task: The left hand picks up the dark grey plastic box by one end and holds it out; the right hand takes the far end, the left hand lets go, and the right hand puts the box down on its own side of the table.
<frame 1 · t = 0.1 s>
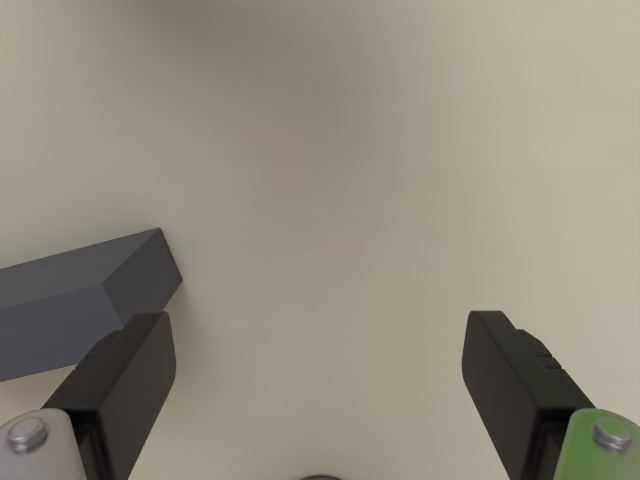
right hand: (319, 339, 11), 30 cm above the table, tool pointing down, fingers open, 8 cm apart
box: (57, 283, 44), on the table
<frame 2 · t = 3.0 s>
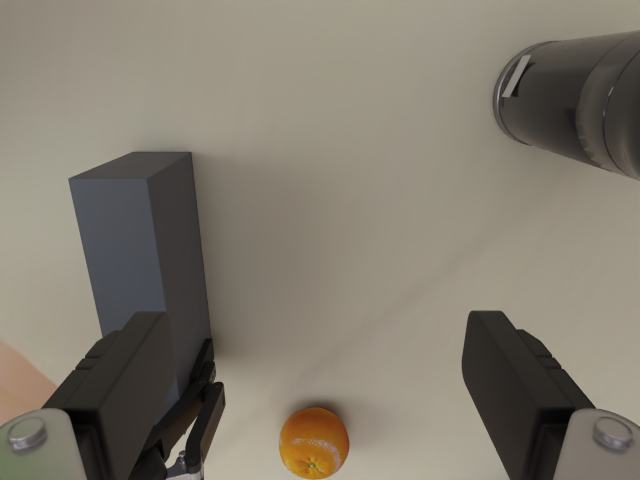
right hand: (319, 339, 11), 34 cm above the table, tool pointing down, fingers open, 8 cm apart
left hand: (180, 348, 49), fingers closed on box, 6 cm apart
fruit: (314, 420, 56), on the table
box: (176, 264, 48), on the table, touching left hand
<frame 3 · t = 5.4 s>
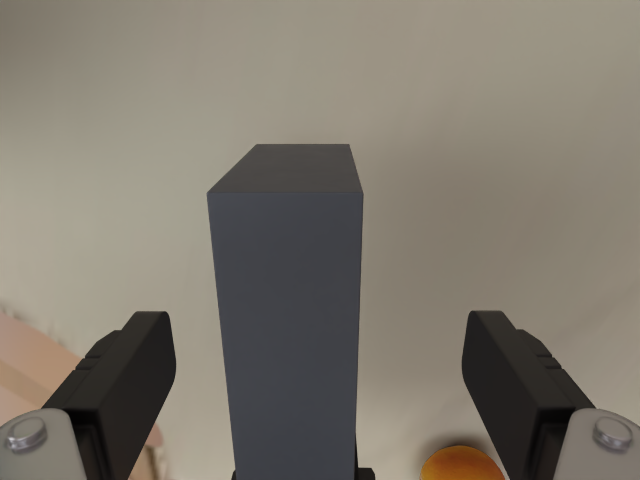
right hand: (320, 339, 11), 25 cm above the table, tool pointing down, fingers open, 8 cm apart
fruit: (453, 460, 47), on the table
box: (306, 315, 32), point 7 cm above the table, touching left hand
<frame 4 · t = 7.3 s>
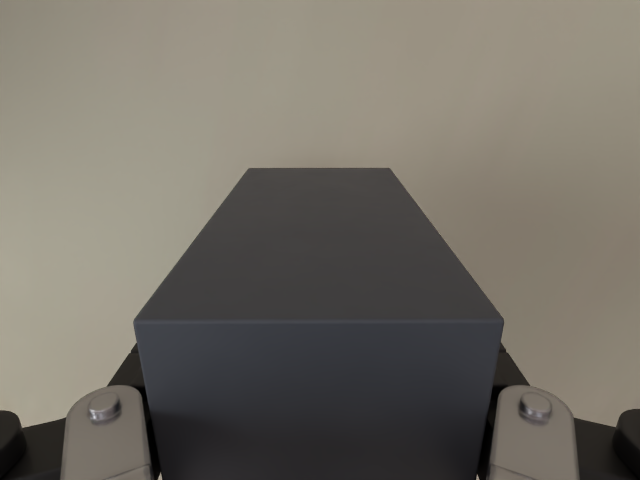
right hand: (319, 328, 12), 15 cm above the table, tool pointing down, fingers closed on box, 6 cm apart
box: (319, 405, 22), point 7 cm above the table, touching right hand, left hand
when the left hand's fingers open (10 cm above the table, at t = 8.2 s): box stays where it is, held by the right hand.
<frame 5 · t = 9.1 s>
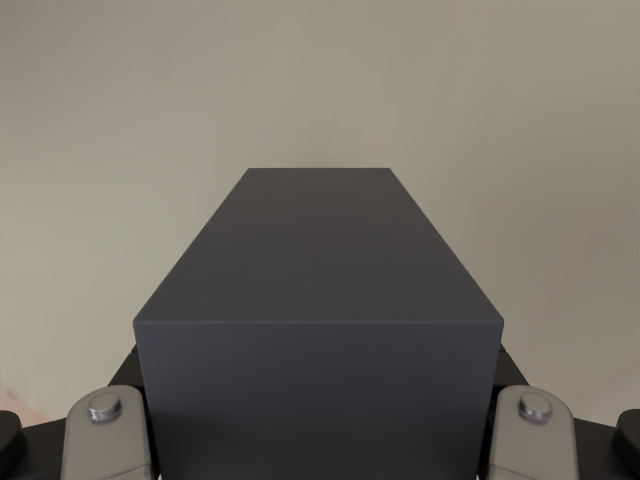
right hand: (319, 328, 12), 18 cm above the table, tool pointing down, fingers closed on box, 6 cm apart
box: (319, 405, 22), point 10 cm above the table, touching right hand
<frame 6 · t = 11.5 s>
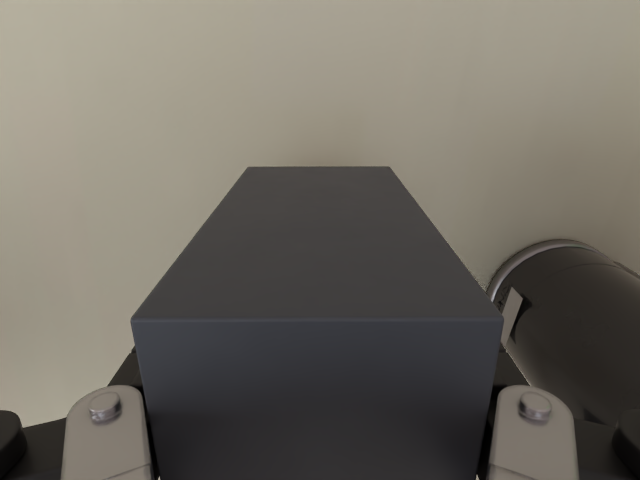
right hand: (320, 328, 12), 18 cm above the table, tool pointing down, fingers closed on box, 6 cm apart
box: (319, 404, 22), point 10 cm above the table, touching right hand
when the right hand's fingers open (9 cm above the table, at t = 15.9 s): box drops 1 cm, on the table.
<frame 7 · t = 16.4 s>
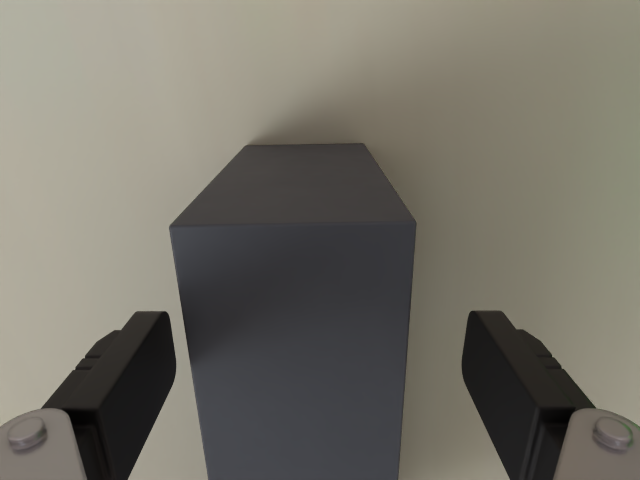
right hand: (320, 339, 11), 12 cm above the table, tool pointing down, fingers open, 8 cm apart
box: (310, 353, 26), on the table
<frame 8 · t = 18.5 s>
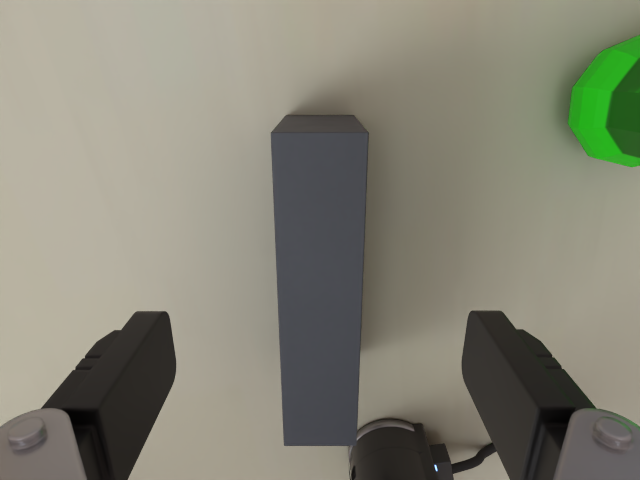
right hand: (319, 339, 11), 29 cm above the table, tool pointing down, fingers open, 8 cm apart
plastic bottle: (605, 99, 37), on the table
box: (320, 249, 42), on the table
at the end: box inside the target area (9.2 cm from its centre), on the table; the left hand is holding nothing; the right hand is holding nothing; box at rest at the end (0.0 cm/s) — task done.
